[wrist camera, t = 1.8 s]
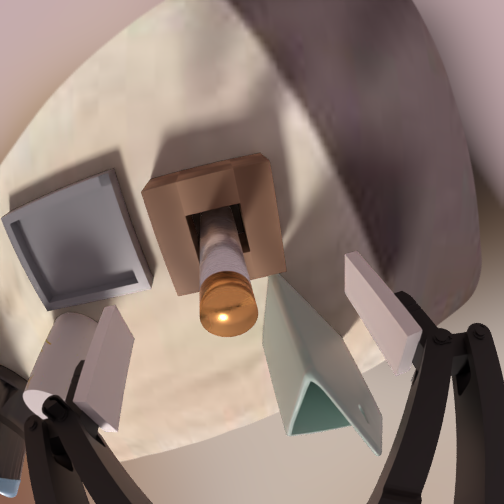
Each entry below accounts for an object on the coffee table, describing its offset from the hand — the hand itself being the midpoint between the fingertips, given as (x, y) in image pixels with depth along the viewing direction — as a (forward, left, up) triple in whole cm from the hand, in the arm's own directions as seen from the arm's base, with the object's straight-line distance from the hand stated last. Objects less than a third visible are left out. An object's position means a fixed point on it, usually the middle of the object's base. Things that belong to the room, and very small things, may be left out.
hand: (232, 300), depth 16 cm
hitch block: (0, 0, -13) cm, 13 cm away
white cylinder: (-21, -11, -13) cm, 27 cm away
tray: (-15, +1, -13) cm, 20 cm away
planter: (+5, -16, -13) cm, 21 cm away
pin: (0, 0, -13) cm, 13 cm away
